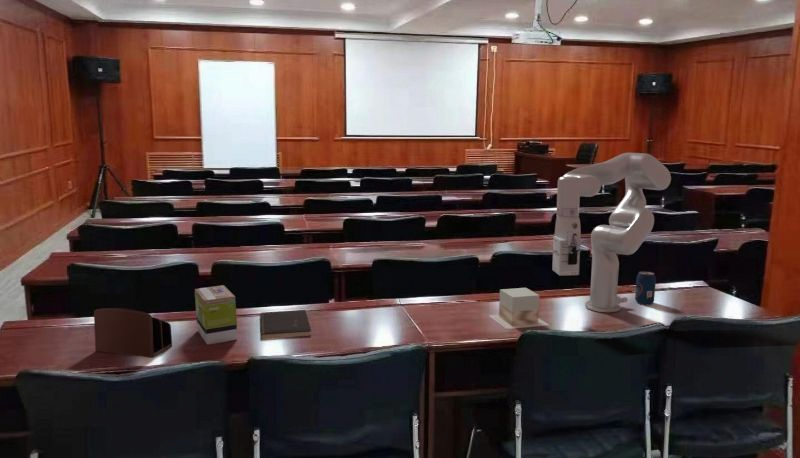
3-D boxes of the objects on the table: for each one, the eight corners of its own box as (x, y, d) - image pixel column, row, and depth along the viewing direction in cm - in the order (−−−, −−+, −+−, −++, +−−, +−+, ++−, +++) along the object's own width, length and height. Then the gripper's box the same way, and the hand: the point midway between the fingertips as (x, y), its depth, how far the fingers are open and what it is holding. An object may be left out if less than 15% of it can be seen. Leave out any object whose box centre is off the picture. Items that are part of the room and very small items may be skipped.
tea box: (196, 331, 204) (193, 287, 202) (226, 326, 209) (224, 284, 207) (206, 345, 191) (203, 299, 189) (238, 340, 196) (236, 295, 194)
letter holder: (152, 358, 181) (149, 312, 179) (94, 352, 186) (91, 307, 183) (172, 346, 190) (170, 302, 188) (117, 340, 195) (114, 297, 193)
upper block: (525, 301, 220) (525, 287, 219) (538, 309, 211) (539, 295, 210) (499, 303, 217) (500, 289, 217) (512, 311, 208) (512, 297, 207)
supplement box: (551, 270, 220) (552, 235, 218) (571, 269, 221) (573, 235, 219) (558, 275, 213) (559, 240, 211) (579, 275, 214) (581, 239, 211)
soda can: (631, 300, 243) (633, 270, 241) (648, 300, 244) (650, 270, 242) (640, 305, 237) (642, 275, 235) (657, 305, 237) (659, 274, 235)
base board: (528, 314, 224) (528, 312, 224) (549, 327, 210) (549, 325, 210) (488, 318, 220) (488, 315, 220) (506, 331, 206) (506, 328, 206)
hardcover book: (305, 315, 223) (305, 309, 222) (311, 337, 201) (311, 330, 200) (260, 318, 219) (260, 312, 219) (260, 340, 197) (260, 333, 197)
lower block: (524, 314, 221) (525, 301, 220) (538, 323, 212) (538, 309, 211) (499, 316, 218) (499, 303, 217) (511, 325, 209) (512, 311, 208)
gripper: (591, 215, 206) (589, 266, 209) (564, 208, 222) (562, 255, 226) (571, 216, 204) (569, 268, 207) (545, 209, 220) (543, 257, 224)
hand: (565, 261), depth 216 cm, fingers closed on supplement box, 8 cm apart
